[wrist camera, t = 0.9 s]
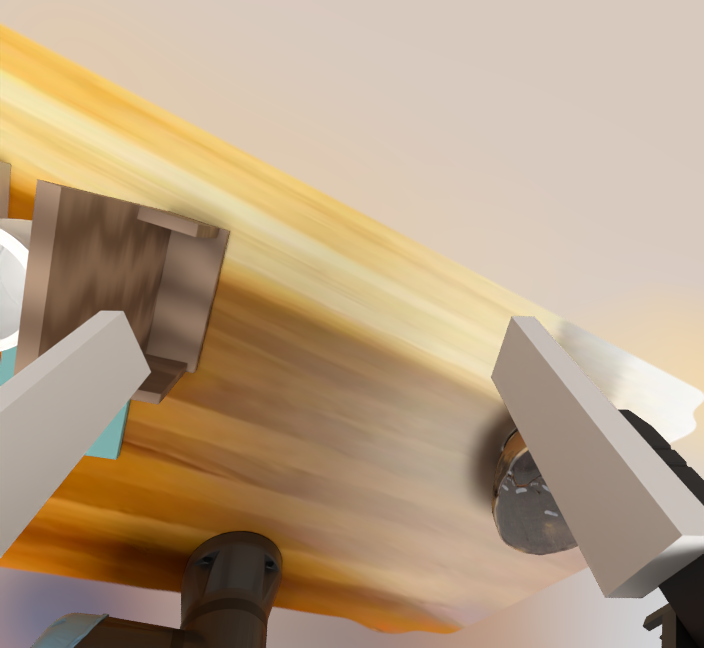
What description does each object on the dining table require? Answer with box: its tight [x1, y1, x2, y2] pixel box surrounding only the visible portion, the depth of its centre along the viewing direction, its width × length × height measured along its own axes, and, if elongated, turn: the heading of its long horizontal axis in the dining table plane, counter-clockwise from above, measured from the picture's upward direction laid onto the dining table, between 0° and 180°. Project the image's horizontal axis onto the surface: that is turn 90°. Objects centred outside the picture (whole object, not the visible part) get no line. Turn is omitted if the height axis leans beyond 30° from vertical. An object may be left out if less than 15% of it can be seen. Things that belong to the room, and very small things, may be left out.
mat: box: [0, 346, 130, 459], centre depth 40 cm, size 14×14×1 cm
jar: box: [0, 219, 32, 351], centre depth 30 cm, size 11×10×15 cm
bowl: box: [492, 430, 578, 555], centre depth 52 cm, size 25×25×10 cm
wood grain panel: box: [13, 179, 230, 404], centre depth 30 cm, size 19×7×20 cm, turn 161°
